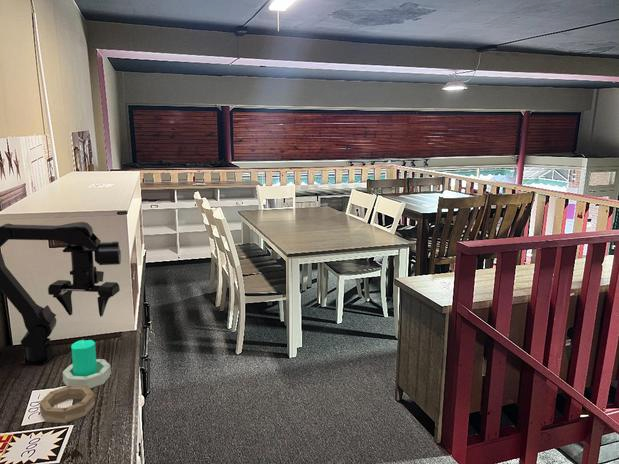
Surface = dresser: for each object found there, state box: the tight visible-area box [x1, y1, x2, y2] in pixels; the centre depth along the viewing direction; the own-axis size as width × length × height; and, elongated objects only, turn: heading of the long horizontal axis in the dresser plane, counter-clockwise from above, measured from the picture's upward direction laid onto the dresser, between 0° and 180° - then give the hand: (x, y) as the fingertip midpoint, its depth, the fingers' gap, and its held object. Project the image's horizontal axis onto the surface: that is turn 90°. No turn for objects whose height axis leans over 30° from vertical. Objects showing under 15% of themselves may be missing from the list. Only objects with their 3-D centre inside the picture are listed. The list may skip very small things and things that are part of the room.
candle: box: [71, 339, 98, 376], centre depth 123 cm, size 6×6×12 cm
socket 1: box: [62, 358, 112, 389], centre depth 124 cm, size 11×11×3 cm
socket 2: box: [39, 385, 95, 424], centre depth 110 cm, size 11×11×3 cm
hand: (86, 315), depth 134 cm, fingers open, 9 cm apart
